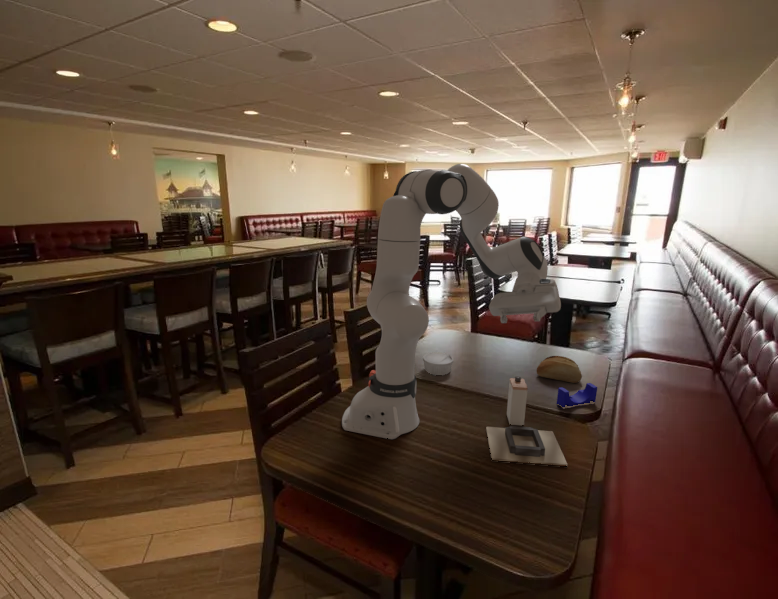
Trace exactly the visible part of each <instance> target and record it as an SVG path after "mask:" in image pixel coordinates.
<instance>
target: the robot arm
mask: <svg viewBox="0 0 778 599" xmlns="http://www.w3.org/2000/svg"><path fill="white" fill-rule="evenodd" d="M498 210H499V198H498V197H497V195H496V193H495V191H494V190H493V188H491V186H490V185H489V184H488V183H487V182H486V180H485V179H484V178H483V177H482V176H481V175H480V174H479V173H478V172H476V170H474V169H473V168H472V167H470V165H467V164H466V163H457V164H455V165H453V166H452V165H451V167H449V168H448V169H444V170H443V169H442V170H439V169H438V170H435V169H422V170H418V171H417V170H414V171H413V170H412V171H410V172H407V173H406V174H404V175H403V176H401V178H400V179H399V180H398V182H397V185H396V188H395V191H394V192H393V194H392V196H390V197H388V198H386V200H384V202H383V204H382V208H381V211H380V217H379V221H378V222H379V223H378V229H377V230H378V232H377V250H376V251H377V255H376V268H375V275H374V279H373V282H372V286H371V291H370V292H369V294H368V295H367V297H366V307H367V310H368V312H369V314H370V316H371V318H372V319H373V320H374V321H375V322H376V323H378V324H379V325H380V329H381V338H380V342H379V345H378V346H377V348H376V349H375V369H372V370H371V371H370V372H369V374H368V386H366V387H365V388H363V389H362V390H359V391H358V392H357V393H356V394H355V395H354V396H353V398H352V400H351V402H350V405H349V406H348V407H347V408H346V409H345V411H344V412H343V414H342V417H341V426H342V429H343V430H344V431H349V432H353V433H358V434H363V435H367V436H373V437H377V438H383V439H387V438H388V439H387V440H395V439H398V437H399V436H401V435H404V434H407V433H410V432H411V431H414V430H415V429H416V428H418V426H419V425H420V417H419V415H418V409H417V404H416V395H417V376H416V374H415V372H416V370H415V369H416V368H415V366H416V365H415V364H416V351H417V346H418V343H419V340H420V338H421V337H422V336H423V335H424V334H425V333H426V332H427V329H428V327H429V323H430V322H429V321H430V320H429V314H428V312H427V310H426V309H425V308H424V306H423V305H422V303H421V302H419V300H417V299H416V298H414V297H412V296H410V287H411V283H412V281H413V278H414V276H415V275H416V273H418V270H419V264H420V249H421V226H422V222H423V219H424V218H425V215H449V214H450V213H453V212H455V211H456V212H457V214H458V215H459V217H460V221H459V229H460V232H461V235H462V237H463V238H464V240H465V242H466V244H467V245H468V246H469V248H470V250H471V252H472V253H473V255H474V256H475V258H476V260H477V261H478V264H479V266H480V268H481V270H482V273H483V274H484V275H485V276H486V277H488V278H490V279H493V280H497V279H499V278H502V277H504V276H507V275H509V274H512V273H516V272H517V276H516V279H515V281H514V284H513V286H512V291H505V292H499V293H496V294H495V295H494V296H493V298H492V299H491V301H490V303H489V305H488V309H489V312H490V314H491V315H492V316H493V317H497V316H498V317H500V318H499V321H500V323H501V324H507V323H508V320H509V319H508V317H507V316H516V315H533V316H532V318H533V321H534V322H541V319H542V318H543V317H544V316H546V315H547V314H548V313H558V312H559V311H561V309H562V308H561V307H562V302H561V298H560V292H559V288H558V285H557V283H556V280H555V279H552V278H548V272H549V270H548V269H549V268H548V267H549V266H548V260H547V258H546V257H545V256H544V254H543V251H542V249H541V247H540V246H539V243H537V242H536V241H535V240H533V239H532V238H530V237H528V236H521V237H518V238H516V239H512V240H509V241H508V242H505V243H503V244H500V245H497V246H489V245H488V243H487V242H486V241H485V238H484V237H483V235H482V233H483V231H484V230H486V228H488V227H489V226H490V225H491V223H492V222H493V221H494V219H495V218H496V216H497V213H498Z"/></svg>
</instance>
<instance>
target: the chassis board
mask: <svg viewBox="0 0 778 599" xmlns="http://www.w3.org/2000/svg"><path fill="white" fill-rule="evenodd" d="M485 431H486V436H487V437H488V438H487V442H488V448H490V449H489V453H491V454H490V459H491V458H492V460H499V461H518V462H528V463H529V462H530V463H541V464H551V465H552V464H553V465H566V466H567V467H568V465H569V464H568V463H567V460H566V458H565V456H564V453H563V451H562V450H561V447H560V444H559V443H558V440H557V438H556V436H555V434H554V431H552V430H541V429H540V430H538V429H537V428H533V427H529V426H518V425H509V426H505V427H496V426H495V427H494V426H486V427H485ZM492 460H491V461H492Z"/></svg>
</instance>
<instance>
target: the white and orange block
mask: <svg viewBox="0 0 778 599" xmlns="http://www.w3.org/2000/svg"><path fill="white" fill-rule="evenodd" d="M528 390H529V389H528V384H527V383H526V381H525V378H522V377H520V376H515V377H514V378H513V377H509V384H508V392H507V393H508V394H507V404H506V405H507V406H506V407H507V408H506V416H507V420H508V423H509V425H510V424H511V425H510V426H522V425H524V426H525V417H526V410H527V409H526V406H527V399H528V398H527V397H528Z"/></svg>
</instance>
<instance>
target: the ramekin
mask: <svg viewBox="0 0 778 599" xmlns="http://www.w3.org/2000/svg"><path fill="white" fill-rule="evenodd" d="M422 361H423V367H424V370H425V372H426V371H427V372H428V374H429V373H431V374H435V375H434V376H436V375H442V376H446V375H448V374H449V373H450V372H451V371H452V366H453V363H454V357H453V356H452V355H451V354H448V353H445V352H440V351H439V352H437V351H435V352H434V351H432V352H428V353H427V352H426V353H425V354H424V355H423V356H422ZM427 372H426V373H427ZM431 374H430V375H431ZM445 374H446V375H445Z"/></svg>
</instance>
